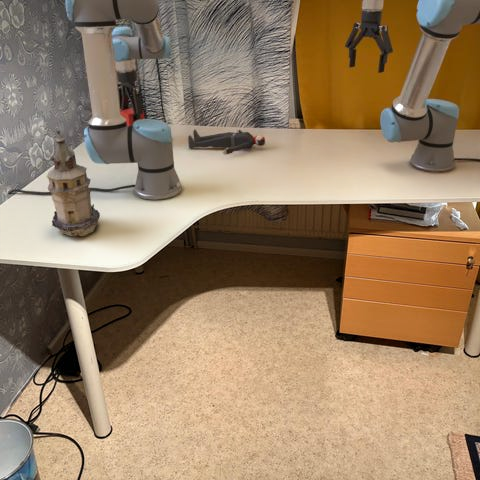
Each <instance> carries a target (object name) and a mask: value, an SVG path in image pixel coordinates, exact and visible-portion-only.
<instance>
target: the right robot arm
mask: <svg viewBox="0 0 480 480" xmlns="http://www.w3.org/2000/svg"><path fill="white" fill-rule="evenodd" d="M384 1H385V0H362V1H361V9H362V10H361V12H360V21H361V22H360V21H359V22H354V23H353V27H352V30H351V31H350V34H349V36H348V37H347V40H346V41H345V44H344V47H345V48H347V49H348V59H349V65H348V68H350V69H351V68H355V67H356V59H357V58H356V57H357V49H356V48H357V46H358V45H359V44H360V43H361V41H362V40H363V39H364V38H367V37H368V38H372V39H373V40H374V41H375V43H376V45H377V47H378V49H379V51H380V52H381V54H380V55H379V60H378V70H377V73H379V74H381V73H385V66H386V64H387V63H388V56H389V54H393V52H394V48H393V45H392V42H391V38H390V35H389V26H388V25H382V24H381V22H382V19H383V9H384ZM416 10H417V12H416V20H417V22H418V24H419V30H420V31H421V32H422V33H421V35H420V38H419V41H418V44H417V46H416V49H415V52H414V55H413V57H412V60H411V63H410V67H409V69H408V72H407V75H406V77H405V80H404V83H403V85H402V89H401V91H400V94H399V96H397V97H395V98H394V99H393V101H392V104H391V105H390V107H386V108H384V109H382V111H381V113H380V120H379V121H380V129H381V132H382V135H383V137H384V139H385V140H386V141H387V142H388V143H403V142H412V141H418V143H417V145H416V147H415V150H414V151H413V154H412V155H411V157H410V162H409V164H410V166H411V167H413V168H414V169H416V170H418V171H422V172H426V173H433V174H435V173H436V174H440V173H448V172H451V171H453V170H454V169H455V164H456V161H471V162H480V158H470V157H455V155H454V153H455V152H454V141H455V137H456V131H457V126H458V121H459V119H460V117H459V115H460V108H459V105H457V104H456V103H455V102H452V101H448V100H445V99H444V100H443V99H437V98H429V96H430V94H431V90H432V89H433V86H434V83H435V81H436V79H437V76H438V73H439V71H440V69H441V66H442V63H443V61H444V58H445V56H446V53H447V51H448V49H449V47H450V43H451V41H452V40H455V39H456V38H457V37H459V35H460V32H461V30H462V28H463V26H467V25H478V24H480V0H418V3H417V5H416ZM359 30H360V32H359Z"/></svg>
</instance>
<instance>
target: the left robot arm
mask: <svg viewBox="0 0 480 480" xmlns="http://www.w3.org/2000/svg"><path fill="white" fill-rule="evenodd" d="M65 11H66V16H67V18H68V20H69V21H71V22H74V27H75V29H76V30H77V31H78V32H79V33H80V35H81V41H82V47H83V55H84V62H85V69H86V77H87V85H88V92H89V93H88V94H89V100H90V107H91V115H92V116H91V118H90V119H89V120H88V122H87V123H88V126H86V127H85V128H84V130H83V136H84V145H85V148H86V152H87V154H88V157H89V159H90V160H91V161H92V162H93V163H95V164H97V165H100V164H101V165H110V164H114V165H115V164H137V175H136V179H135V184H128V185H124V186H118V187H113V188H100V187H89V189H90V191H98V192H115V191H120V190H123V189H124V190H125V189H130V188H134V193H135V195H136V196H137V197H138V198H141V199H143V200H148V201H161V200H168V199H171V198H174V197H176V196H178V195H179V194H180V193H181V192H182V182H181V180H180V177H179V176H178V173H177V171H176V169H175V161H174V160H175V159H174V147H173V140H174V139H173V135H172V129H171V126H170V125H169V124H168V123H167V122H165V121H162V120H159V119H153V118H145V119H142V120H141V119H140V115H141V114H143V111H144V107H143V101H142V96H141V88H140V87H137V86H136V81H138V73H137V70H136V69H137V66H136V60H163V59H170V58H171V57H172V40H171V38H170V36H165V35H164V34H163V30H162V28H161V27H162V26H161V24H160V20H159V12H160V6H159V3H158V0H65ZM116 20H130V21H132V22H133V23H134V25H135V27H136V31H137V33H138V35H139V36H133V35H134V34H133V30H132V28H131V27H130V26H117V21H116ZM129 102H130V103H129ZM129 104H130V105H131V107H129ZM130 108H132V109H133V112H134V115H133V120H134V123H133V126H127V122H126V119H125V118H124V117H123V116H122V115H121V112H120V111H121V110H125V109H130ZM15 192H16V193H23V194H32V195H52V193H51V192H50V191H35V190H24V189H18V188H14V189H11V190H9V191H8V193H7V195H11V194H12V193H15Z"/></svg>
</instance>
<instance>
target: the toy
mask: <svg viewBox="0 0 480 480" xmlns="http://www.w3.org/2000/svg"><path fill="white" fill-rule="evenodd" d="M187 142H188V148H189V149H190V150H192V149H196V148H203V149H206V148H216V149H217V148H224V150H222V153H223V155H224V156H226V155H231V154H233V153H234V152H238V151H241V150H242V151H249V150H252V149H253V148H254V146H259V147H262V146H264V145H265V144H266V137H265V136H263V135H255V136H253V134H252V133H250V132H249V131H242V130H241V129H237V130H236V132H231V131H228V132H222V133H221V132H220V133H215V134H209V135H203V136H201V135H200V134H199V133H198V131H197V129H193V136H192V135H190V134H189V135H188V137H187Z"/></svg>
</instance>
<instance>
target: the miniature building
mask: <svg viewBox="0 0 480 480" xmlns="http://www.w3.org/2000/svg"><path fill="white" fill-rule="evenodd" d="M56 134H57V136H56V138H55V140H54V141H55V142H56V147H55V154H54V156H52V157H51V161H52V162H53V165H54V167H53V168H51V169H50V170H49V171H48V173H47V174H46V178H47V179H48V182H49V184H48V186H47V190H48V192H51V193H52V194H51V200H52V201H53V205H54V209H55V211H53V217H52V220H51V223H52V225H51V227H54V228H56V229H58V230H59V231H60V234H63V235H64V234H65V235H66V236H69V237H77V236H80V237H83V236H87V235H88V234H90V233H93V232H94V231H95V229H96V226H97V225H98V223H99V220H100V216H101V213H100V212H99V210H98V209H96V208H95V204H92V201H91V200H92V199H91V198H92V197H91V192H92V190H90V189H89V188H90V184H91V178H89V177H88V174H87V167H85V166H84V165H83V166H82V165H80V164H77V160H76V154H75V151H74V150H70V149H69V147H68V145H67V143H66V138H65V137H64V136H63V135H61V130H60V129H56Z"/></svg>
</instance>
